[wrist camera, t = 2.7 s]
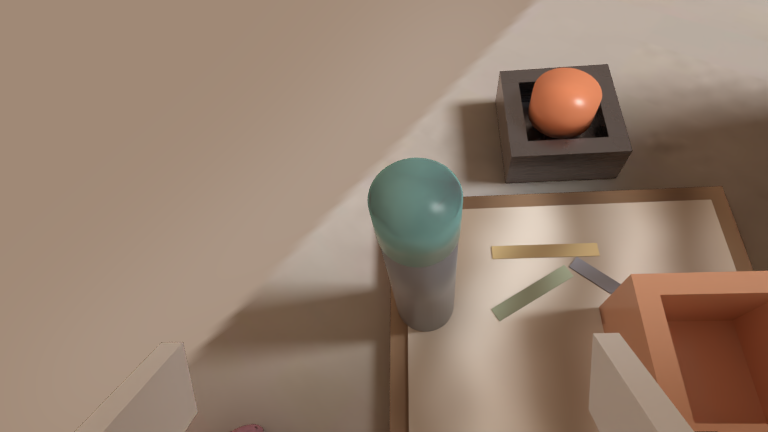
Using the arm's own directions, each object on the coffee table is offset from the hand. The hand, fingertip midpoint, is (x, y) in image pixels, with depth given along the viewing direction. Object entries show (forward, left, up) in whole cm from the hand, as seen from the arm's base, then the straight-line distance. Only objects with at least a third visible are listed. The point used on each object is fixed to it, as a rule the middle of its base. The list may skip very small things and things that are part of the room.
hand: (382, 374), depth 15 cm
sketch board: (-9, -5, -12) cm, 16 cm away
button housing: (-10, -18, -12) cm, 23 cm away
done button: (-10, -18, -9) cm, 22 cm away
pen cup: (-14, -2, -10) cm, 18 cm away
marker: (-1, -6, -10) cm, 12 cm away
